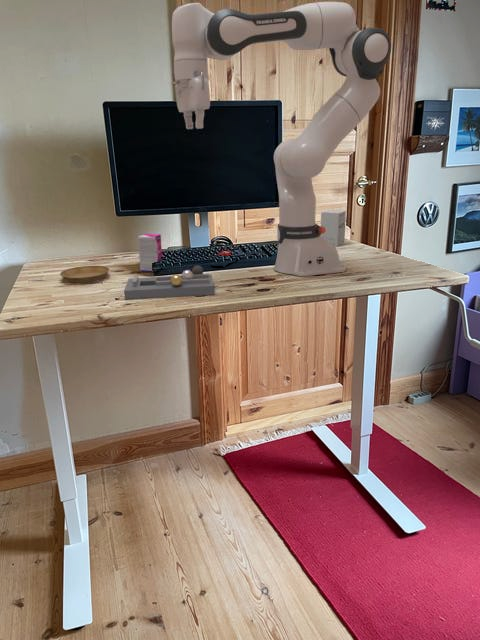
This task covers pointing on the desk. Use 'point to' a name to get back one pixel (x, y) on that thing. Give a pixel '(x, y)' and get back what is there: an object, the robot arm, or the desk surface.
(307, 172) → the robot arm
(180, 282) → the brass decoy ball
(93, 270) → the plant saucer
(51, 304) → the desk surface
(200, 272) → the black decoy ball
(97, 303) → the desk surface
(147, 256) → the supplement box
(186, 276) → the steel ball
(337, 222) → the supplement box
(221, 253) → the race car
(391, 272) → the desk surface
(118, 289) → the desk surface
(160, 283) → the board
